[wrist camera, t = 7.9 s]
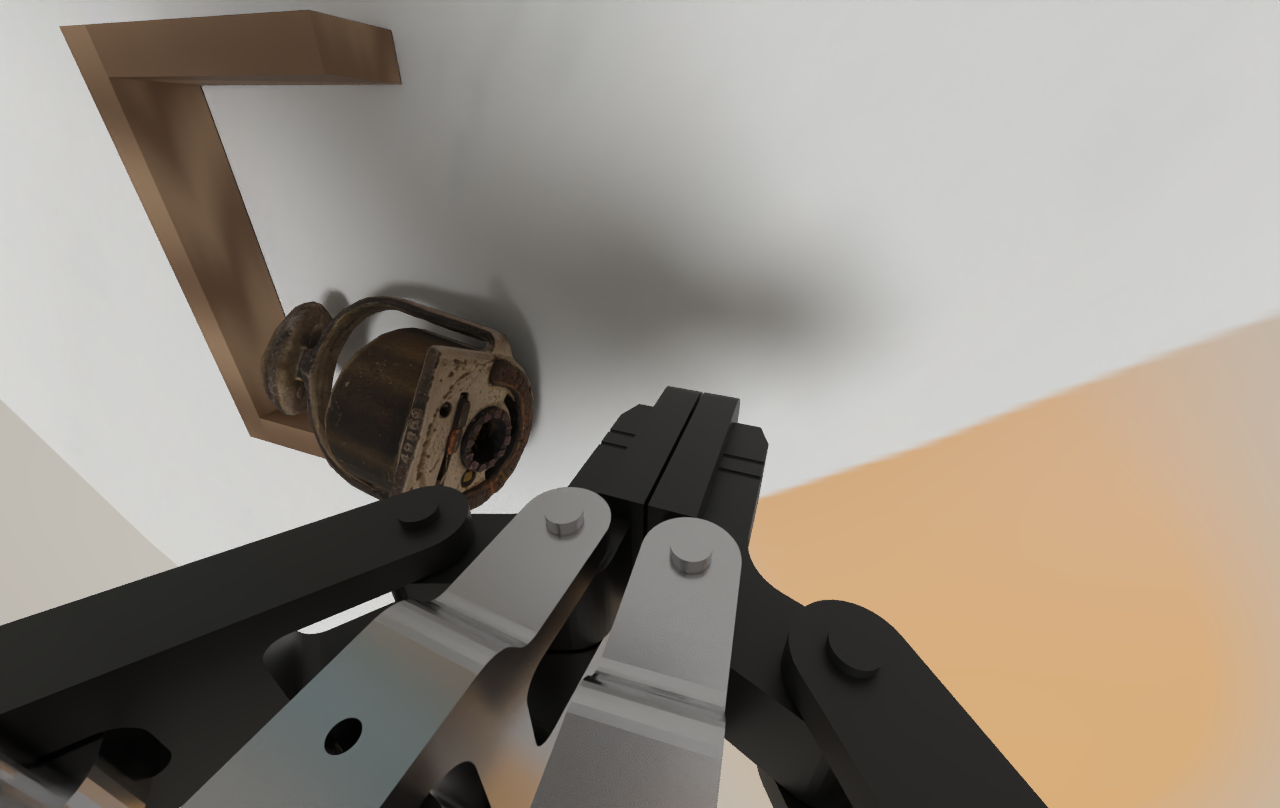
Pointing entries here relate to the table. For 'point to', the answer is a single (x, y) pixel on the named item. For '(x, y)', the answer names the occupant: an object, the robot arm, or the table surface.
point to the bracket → (217, 162)
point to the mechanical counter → (403, 399)
